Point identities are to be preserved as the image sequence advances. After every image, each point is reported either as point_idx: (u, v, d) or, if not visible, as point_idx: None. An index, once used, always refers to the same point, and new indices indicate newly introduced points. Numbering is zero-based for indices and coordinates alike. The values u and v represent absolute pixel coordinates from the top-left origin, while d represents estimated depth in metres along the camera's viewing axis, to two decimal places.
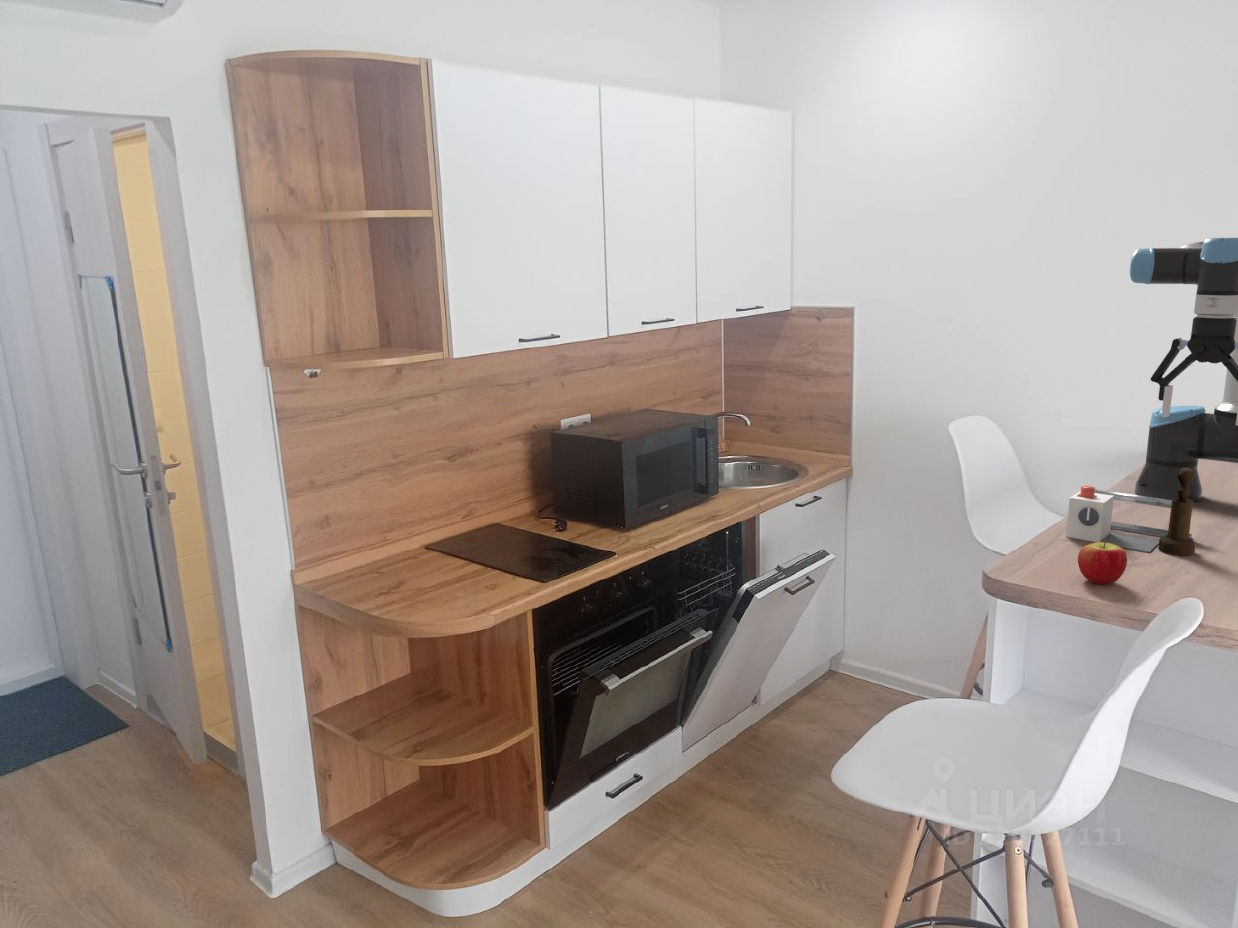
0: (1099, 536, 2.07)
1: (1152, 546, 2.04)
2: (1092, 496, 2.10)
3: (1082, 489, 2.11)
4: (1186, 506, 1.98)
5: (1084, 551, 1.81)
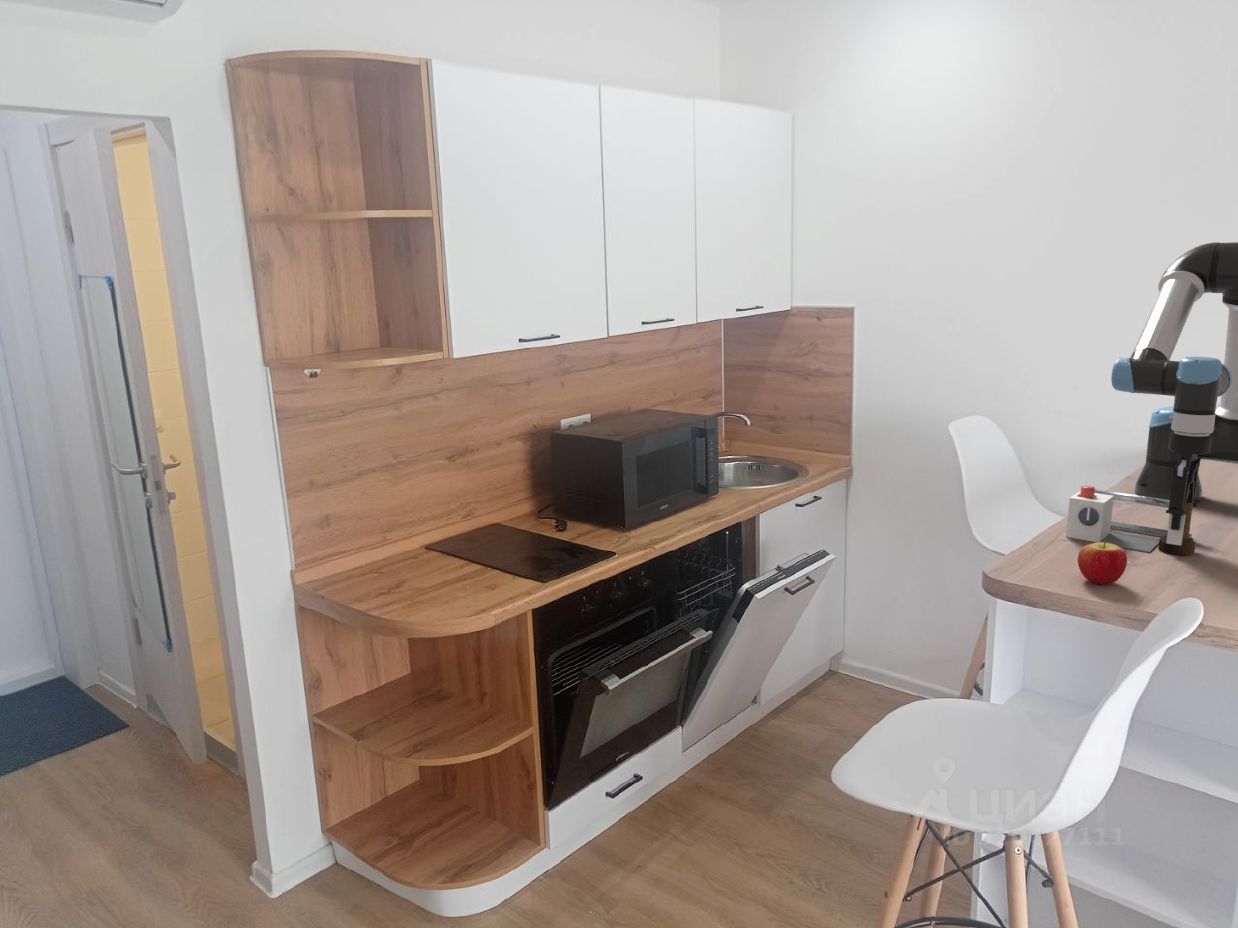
0: (1099, 536, 2.07)
1: (1152, 546, 2.04)
2: (1092, 496, 2.10)
3: (1082, 489, 2.11)
4: (1186, 506, 1.98)
5: (1084, 551, 1.81)
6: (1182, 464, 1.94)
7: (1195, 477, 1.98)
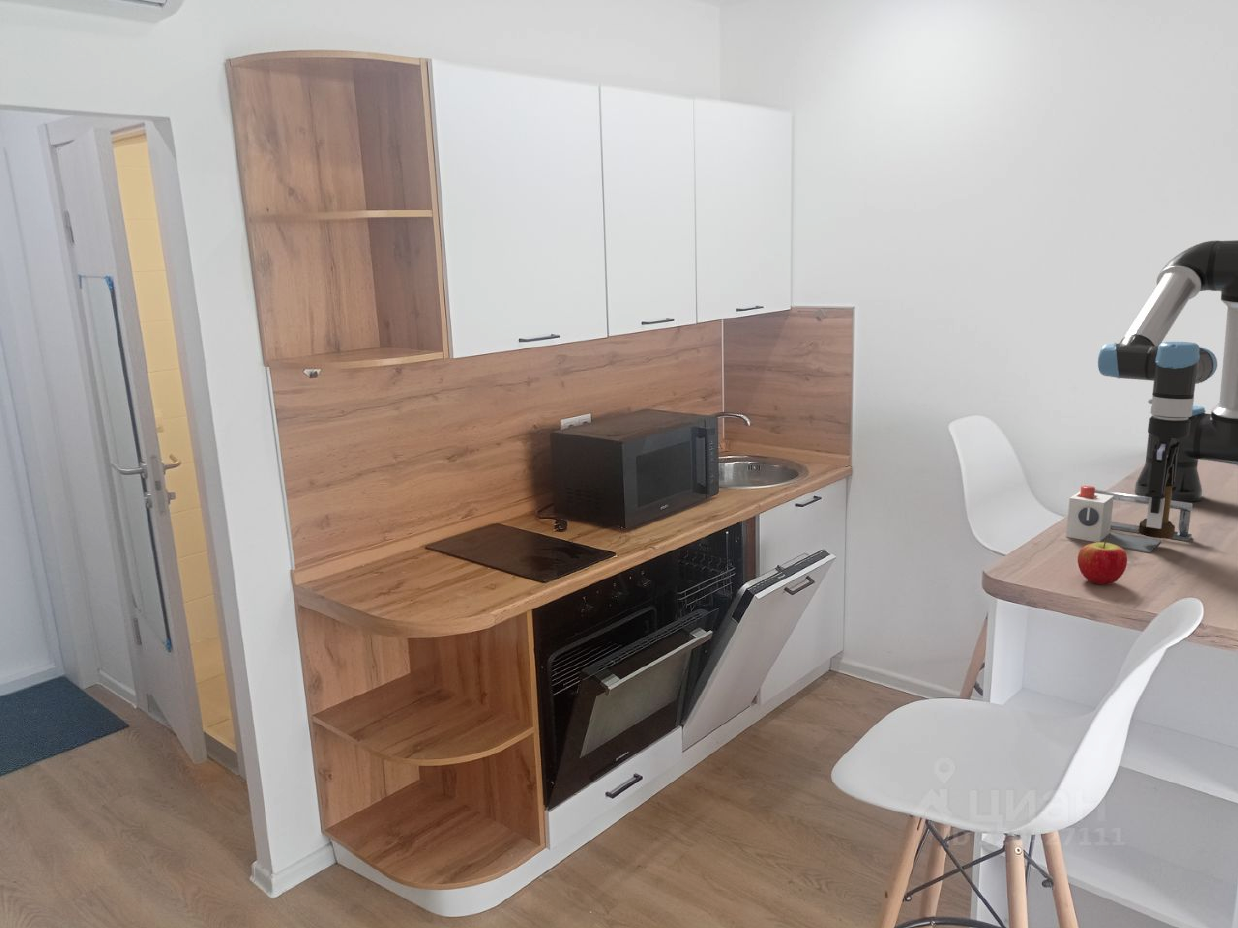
0: (1099, 536, 2.07)
1: (1152, 546, 2.04)
2: (1092, 496, 2.10)
3: (1082, 489, 2.11)
4: (1165, 489, 2.00)
5: (1084, 551, 1.82)
6: (1161, 448, 1.96)
7: (1174, 461, 2.01)
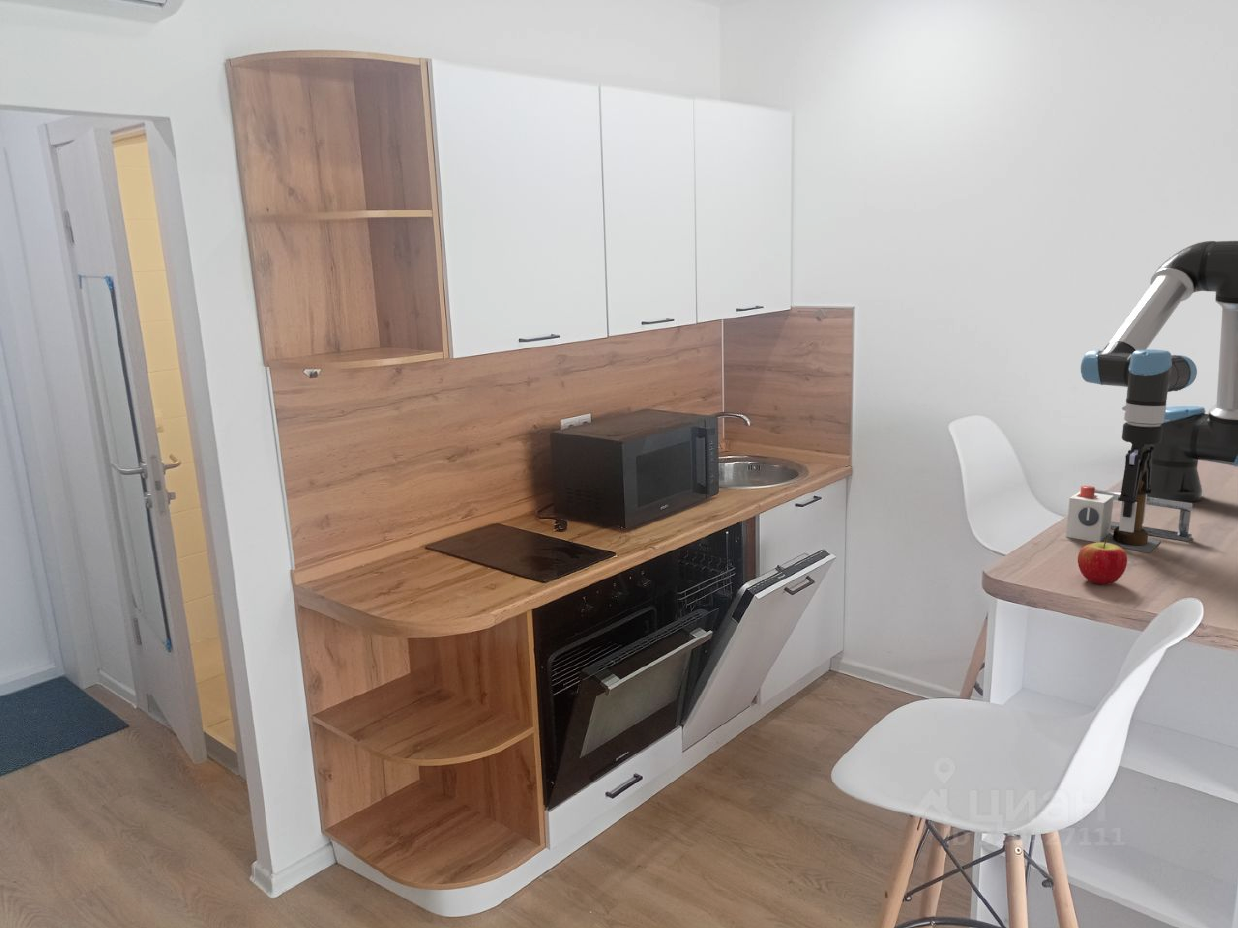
0: (1099, 536, 2.07)
1: (1152, 546, 2.04)
2: (1092, 496, 2.10)
3: (1082, 489, 2.11)
4: (1139, 497, 2.03)
5: (1084, 551, 1.82)
6: (1134, 453, 1.99)
7: (1148, 466, 2.04)
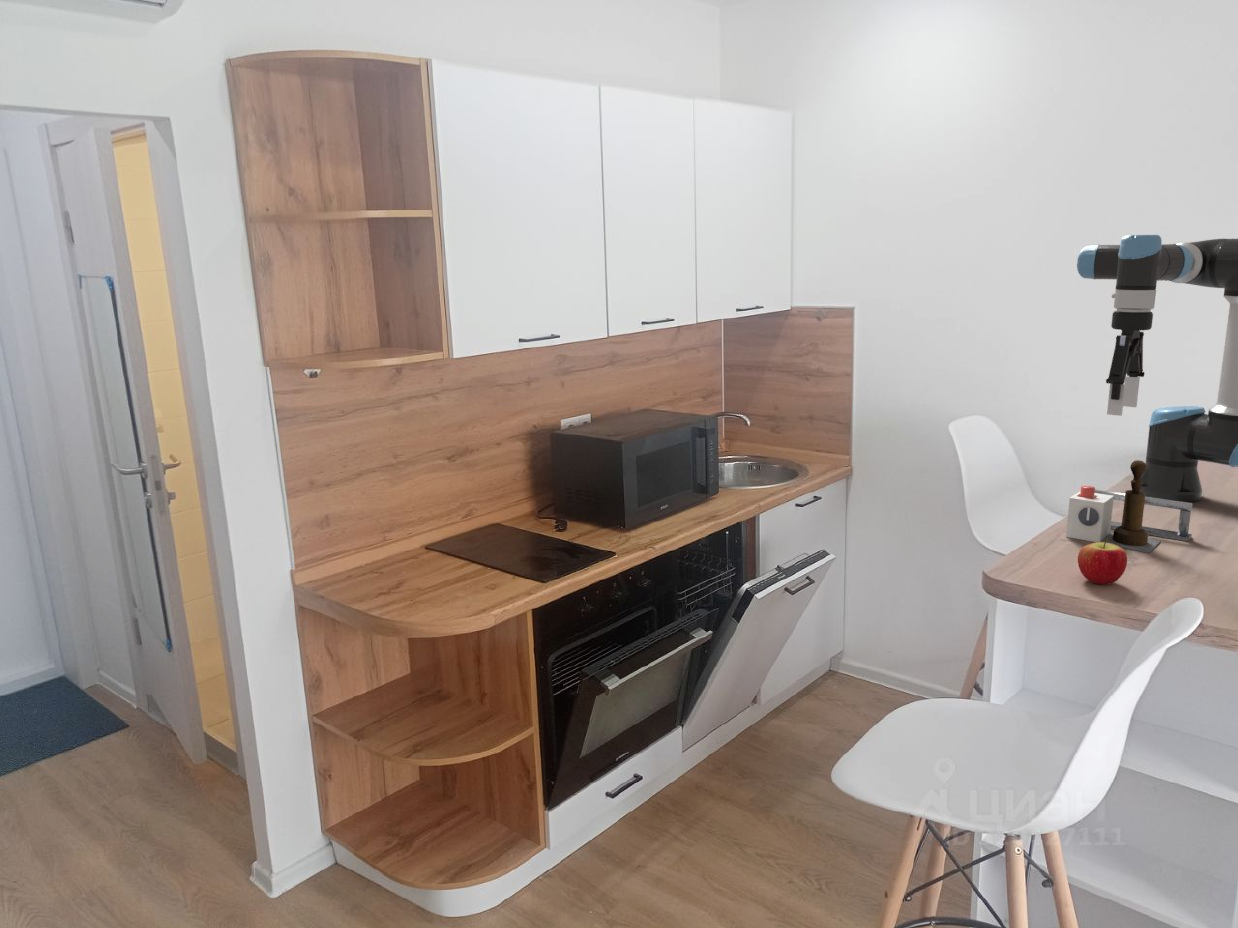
0: (1099, 536, 2.07)
1: (1152, 546, 2.04)
2: (1092, 496, 2.10)
3: (1082, 489, 2.11)
4: (1138, 497, 2.03)
5: (1084, 551, 1.82)
6: None
7: (1139, 353, 2.02)
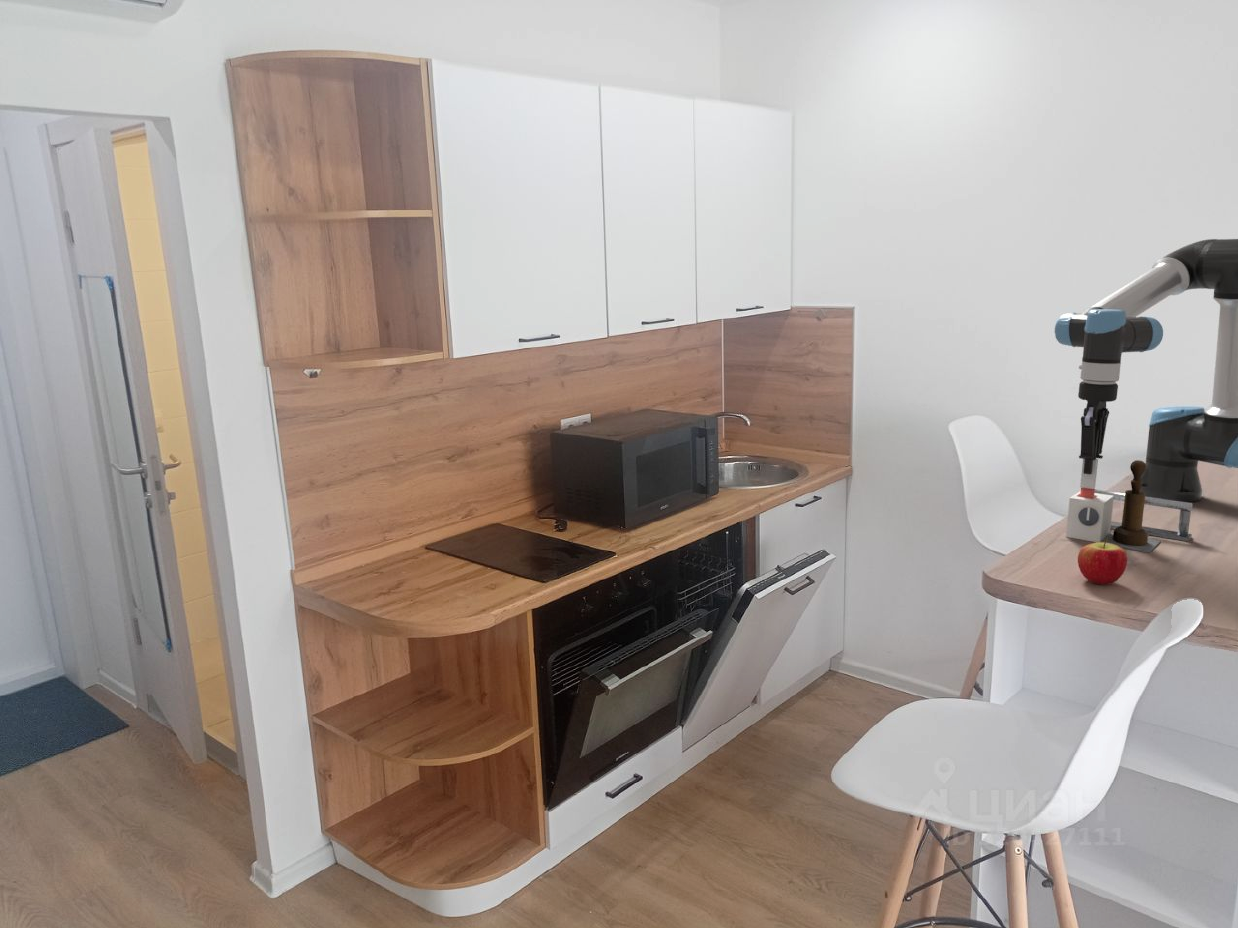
0: (1099, 536, 2.07)
1: (1152, 546, 2.04)
2: (1092, 497, 2.10)
3: (1082, 490, 2.11)
4: (1138, 497, 2.03)
5: (1084, 551, 1.82)
6: (1089, 413, 2.04)
7: (1102, 425, 2.07)
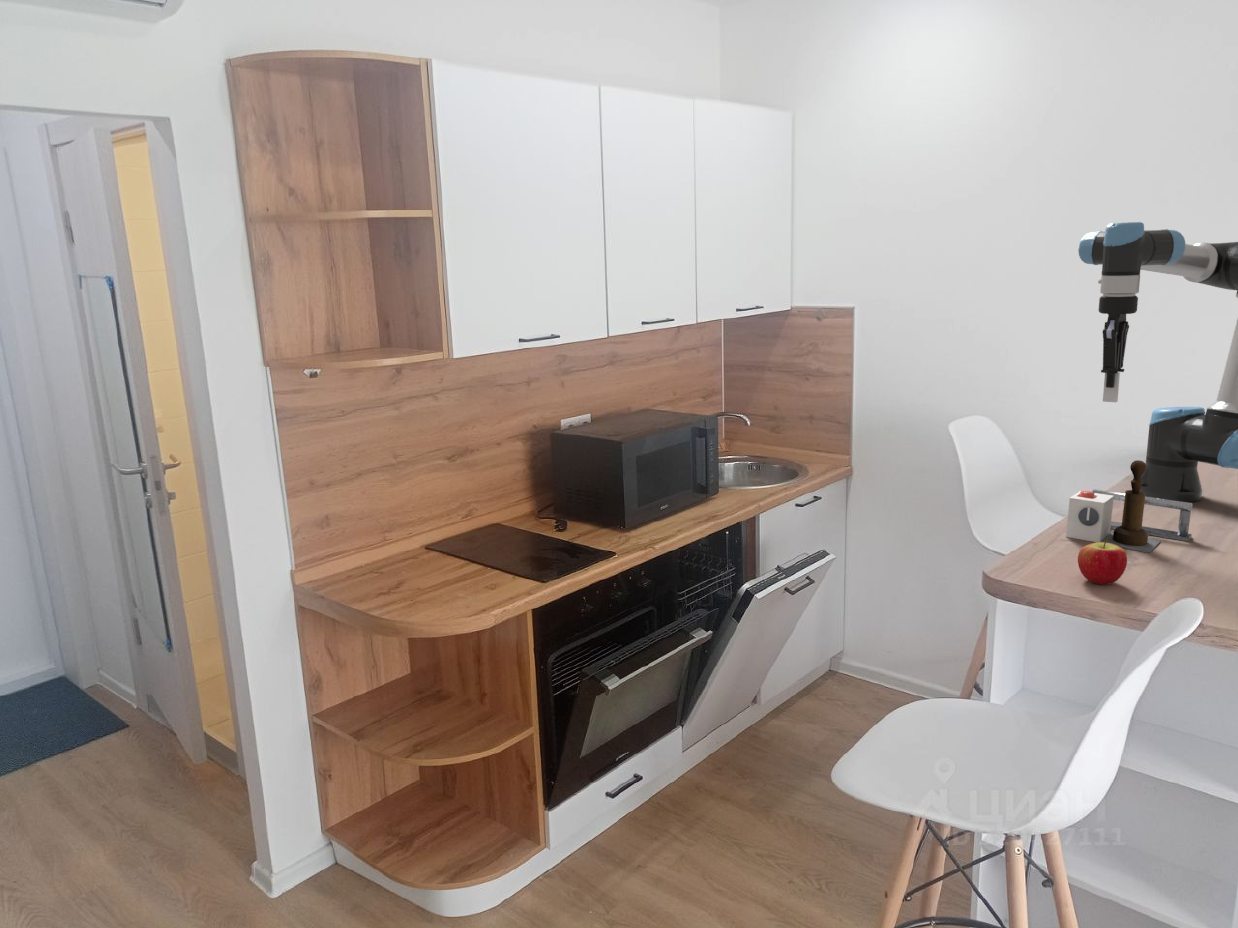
0: (1099, 536, 2.07)
1: (1152, 546, 2.04)
2: None
3: (1081, 494, 2.11)
4: (1138, 497, 2.03)
5: (1084, 551, 1.82)
6: (1110, 326, 2.06)
7: (1123, 338, 2.10)
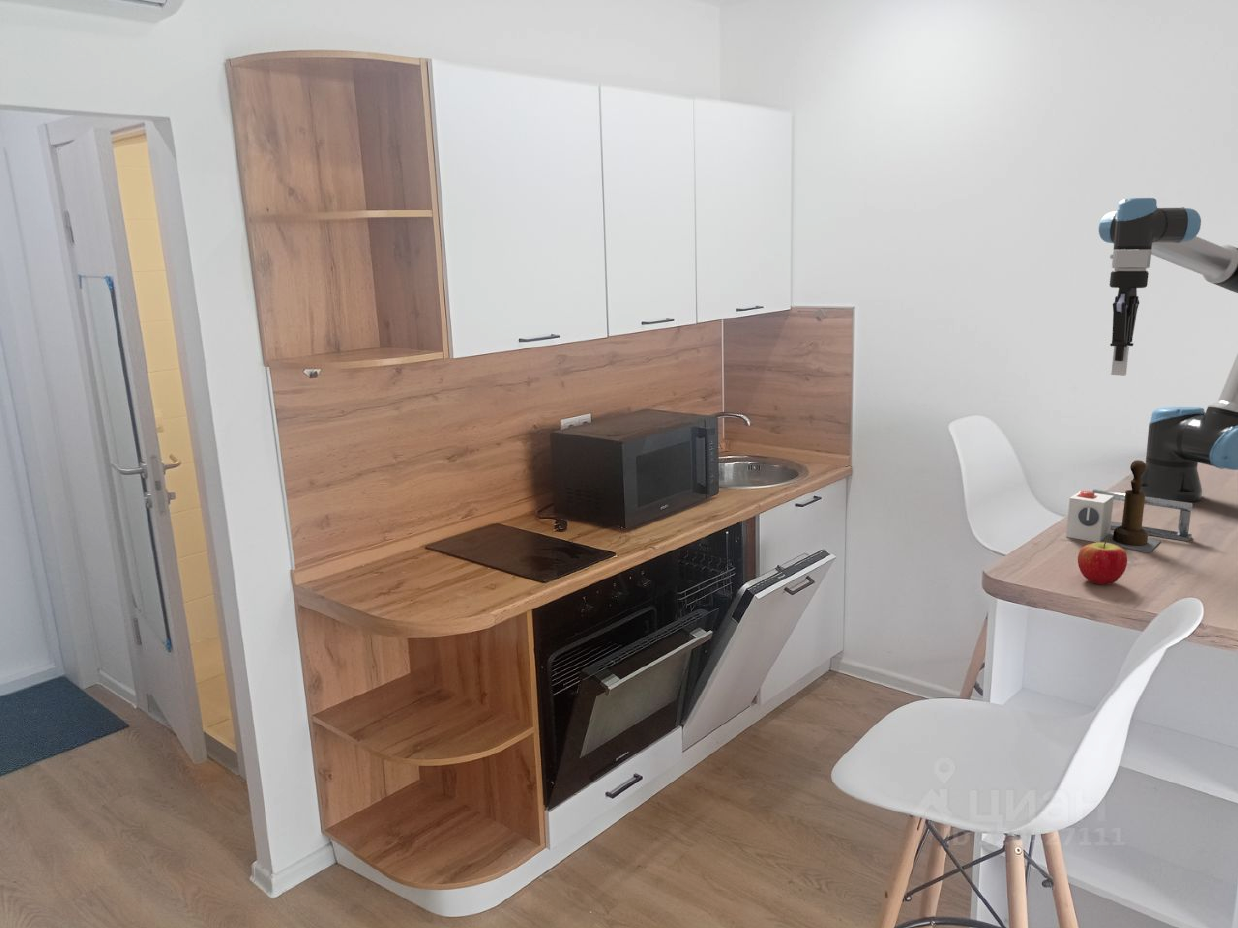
0: (1099, 536, 2.07)
1: (1152, 546, 2.04)
2: None
3: (1081, 494, 2.11)
4: (1138, 497, 2.03)
5: (1084, 551, 1.82)
6: (1121, 299, 2.10)
7: (1133, 313, 2.14)
